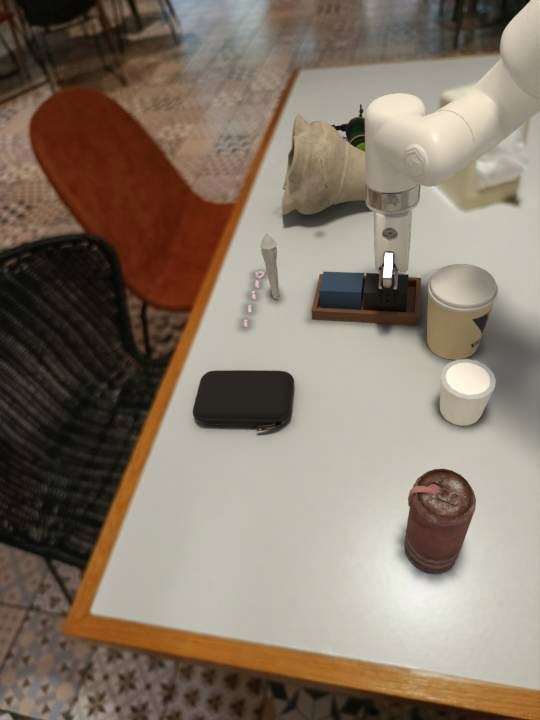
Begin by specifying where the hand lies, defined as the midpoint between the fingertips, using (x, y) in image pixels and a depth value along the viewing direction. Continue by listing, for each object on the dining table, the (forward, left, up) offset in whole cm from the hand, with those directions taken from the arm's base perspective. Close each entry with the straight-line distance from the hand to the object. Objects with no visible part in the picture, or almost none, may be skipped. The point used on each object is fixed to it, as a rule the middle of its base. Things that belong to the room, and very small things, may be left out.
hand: (389, 285), depth 86 cm
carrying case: (+20, +24, -5) cm, 31 cm away
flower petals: (+24, 0, -5) cm, 25 cm away
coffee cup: (-10, +8, -5) cm, 14 cm away
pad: (+1, 0, -4) cm, 4 cm away
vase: (+11, -29, -5) cm, 32 cm away
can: (-7, +41, -5) cm, 42 cm away
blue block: (+8, 0, -4) cm, 9 cm away
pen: (+20, 0, -5) cm, 20 cm away
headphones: (+11, -52, -5) cm, 54 cm away
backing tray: (+4, 0, -4) cm, 6 cm away
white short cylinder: (-11, +21, -5) cm, 24 cm away
